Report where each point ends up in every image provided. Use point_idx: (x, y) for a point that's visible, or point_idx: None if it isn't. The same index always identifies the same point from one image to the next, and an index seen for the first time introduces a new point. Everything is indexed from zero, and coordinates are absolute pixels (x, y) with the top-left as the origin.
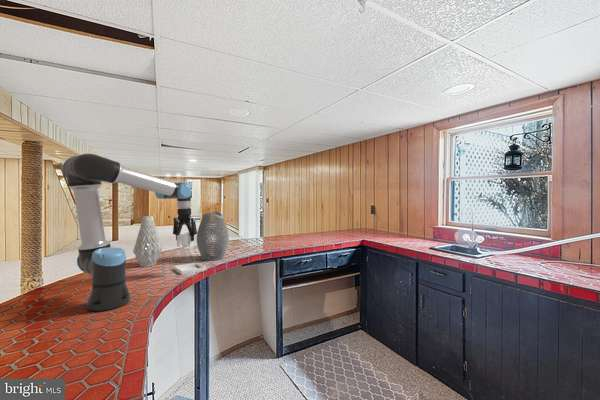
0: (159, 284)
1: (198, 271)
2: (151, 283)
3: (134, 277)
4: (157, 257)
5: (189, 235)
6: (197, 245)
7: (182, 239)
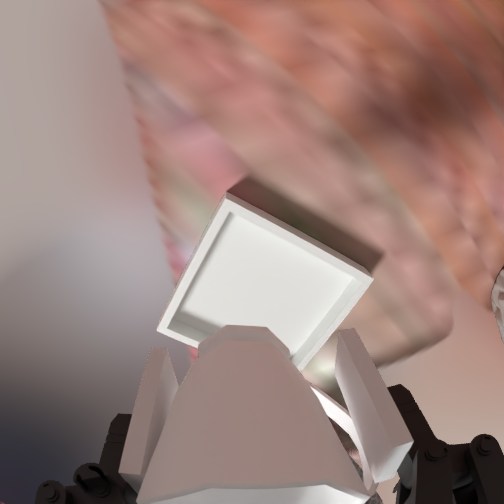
0: (218, 10)
1: (178, 282)
2: (282, 10)
3: (457, 90)
4: (502, 319)
5: (106, 474)
6: (362, 476)
7: (239, 397)
